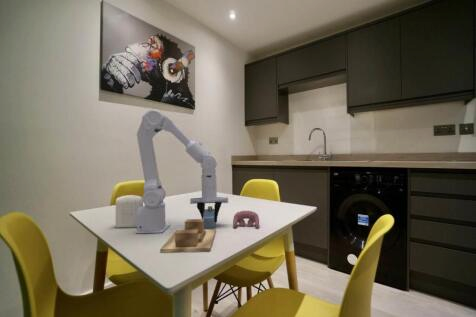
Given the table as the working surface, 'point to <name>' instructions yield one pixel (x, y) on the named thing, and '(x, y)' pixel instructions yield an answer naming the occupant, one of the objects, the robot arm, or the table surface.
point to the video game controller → (246, 215)
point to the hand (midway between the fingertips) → (209, 221)
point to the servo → (209, 218)
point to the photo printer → (127, 210)
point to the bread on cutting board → (190, 238)
